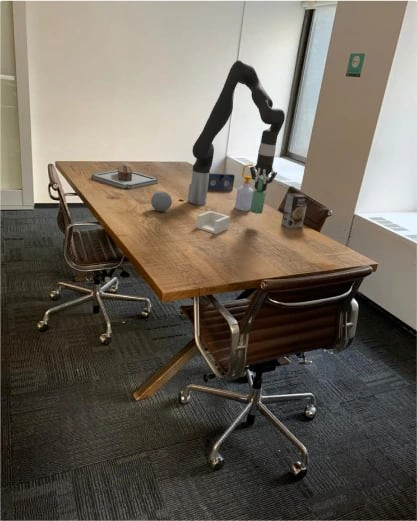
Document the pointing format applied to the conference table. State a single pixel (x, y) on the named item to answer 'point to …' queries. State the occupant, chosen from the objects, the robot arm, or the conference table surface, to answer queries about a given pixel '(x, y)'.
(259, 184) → the green bottle
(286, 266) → the conference table surface
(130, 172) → the grey square tray
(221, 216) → the u rest
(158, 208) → the decorative stone
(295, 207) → the coffee box
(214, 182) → the vhs cassette tape
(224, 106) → the robot arm
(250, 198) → the soap bottle
